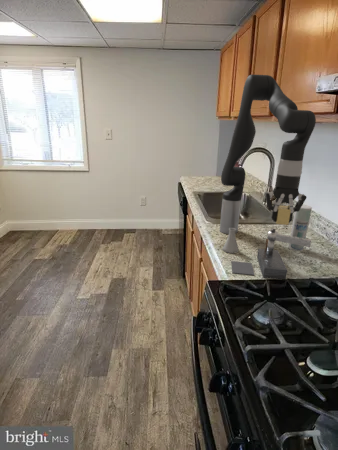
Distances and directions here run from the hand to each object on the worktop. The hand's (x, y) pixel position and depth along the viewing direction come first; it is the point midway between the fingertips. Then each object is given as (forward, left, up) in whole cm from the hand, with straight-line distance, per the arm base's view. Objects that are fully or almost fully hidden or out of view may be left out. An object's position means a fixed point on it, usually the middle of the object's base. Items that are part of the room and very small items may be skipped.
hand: (280, 221), depth 106 cm
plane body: (-5, 0, -21) cm, 21 cm away
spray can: (-28, +15, -21) cm, 38 cm away
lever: (-8, +6, -11) cm, 15 cm away
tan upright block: (0, 0, 0) cm, 0 cm away
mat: (-2, -11, -21) cm, 24 cm away
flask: (-19, -15, -21) cm, 32 cm away
